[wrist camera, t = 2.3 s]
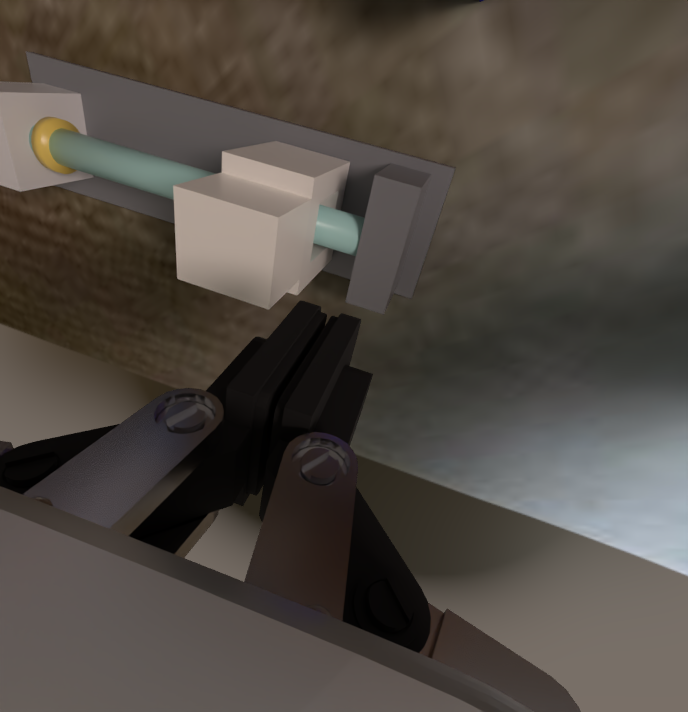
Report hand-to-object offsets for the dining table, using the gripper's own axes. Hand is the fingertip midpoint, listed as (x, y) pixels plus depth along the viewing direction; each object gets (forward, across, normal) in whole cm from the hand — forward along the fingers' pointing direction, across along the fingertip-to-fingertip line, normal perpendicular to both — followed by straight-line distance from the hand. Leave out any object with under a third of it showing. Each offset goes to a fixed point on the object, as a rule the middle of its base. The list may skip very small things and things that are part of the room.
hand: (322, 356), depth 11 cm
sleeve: (+13, +5, 0) cm, 14 cm away
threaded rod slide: (+13, +10, 0) cm, 17 cm away
